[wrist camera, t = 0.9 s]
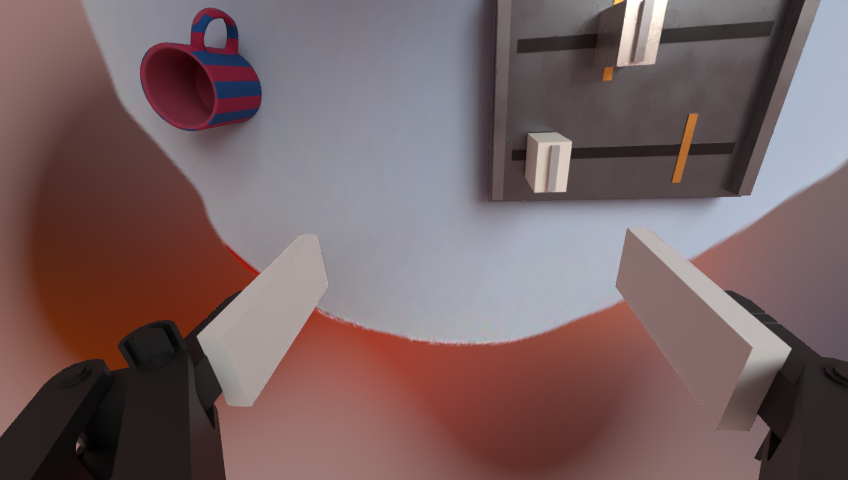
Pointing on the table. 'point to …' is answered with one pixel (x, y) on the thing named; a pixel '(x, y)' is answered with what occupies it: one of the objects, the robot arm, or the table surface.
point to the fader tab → (547, 162)
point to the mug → (201, 79)
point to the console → (641, 92)
